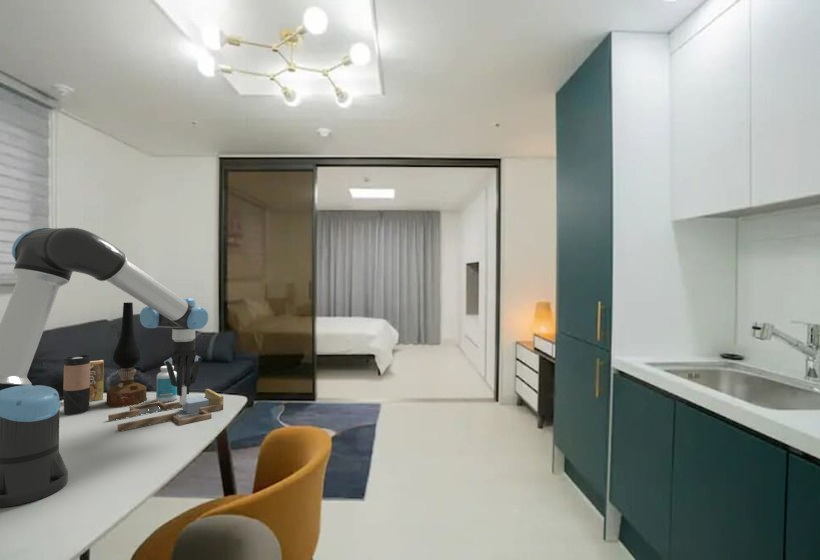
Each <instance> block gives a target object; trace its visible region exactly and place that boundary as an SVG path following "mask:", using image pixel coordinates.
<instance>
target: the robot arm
mask: <svg viewBox="0 0 820 560" xmlns="http://www.w3.org/2000/svg"><path fill="white" fill-rule="evenodd" d="M11 254H12V257H13V259H14V261H15V264H14V268H13V269H12V271H13V272H14V274H15V276H16V277H17V281H16V283H15V285H14V288H13V291H12V294H11V295H10V299H9V301H8V303H7V306H6V308H5V311H4V313H3V316H2V318H1V320H0V508H7V507H15V506H20V505H24V504H27V503H32V502H34V501H39V500H40V499H43V498H46V497H48V496H50V495H53V494H55V493H57V492H58V491H59V490H62V489H63V488H64V487H65V486H66V485H67V484H68V483H69V482H68V481H69V471H68V468H67V466H66V464H65V462H64V460H63V457H62V455H61V453H60V409H61V401H60V395H59V392H58V391H57V390H56V389H55V388H53V387H51V386H47V385H42V384H41V385H40V384H39V385H38V384H37V385H32V384H33V383H32V382H31V381H30V380H29V378H28V374H29V371H30V368H31V365H32V363H33V360H34V358H35V355H36V352H37V349H38V347H39V344H40V341H41V339H42V335H43V333H44V330H45V327H46V324H47V322H48V319H49V316H50V314H51V311H52V309H53V305H54V303H55V300H56V298H57V296H58V292H59V290H60V288H61V287H62V286H65V285H67V284H69V282H70V280H71V277H72V274H73V273H80V274H84V275H87V276H89V277H93V278H94V279H95V280H97V281H99V282H108V283H110V284H111V285H113V286H114V287H116V288H118V289H120V290H121V291H123V292H124V293H126V294H128V295H129V296H130V297H132V298H134V299H136V300H137V301H139V302H140V303H142V304H143V305H145V307H142V308H141V311H140V314H139V321H140V324H141V325H142V326H143V328H146V329H156V328H167V329H168V328H169V329H171V328H172V332H171V333H172V334H171V339H172V340H173V341H172V342H171V354H170V356H169V358H168V359H166V360H164V361H163V364H164V366H166V367H167V370H168V374H169V378H170V381H171V385H173V386H176V387H177V395H178V397H179V402H180V404H181V405H185V404H186V399H188V397H187V396H188V395H189V394H190V387H191V385H193V384H195V383H196V380H197V375H198V371H199V368H200V364H201V362H202V361H203V357H202V356H199V355H197V352H196V340H195V339H196V330H200V329H201V330H202V329H203V328H205V326H206V325H207V324H208V323H209V313H208V311H207V309H206V308H204V307H203V306H201V307H200V306H197V305H196V300H195V299H194V298H192V297H191V298H190V297H180V296H179V295H178V294H176V293H174V292H173V291H172V290H170V289H169V288H168V287H166V286H165V285H164V284H161V283H160V282H159V281H157V280H156V279H155V278H153V277H152V276H151V275H149V274H148V273H146V272H145V271H143V270H142V269H141V268H140V267H138V266H137V265H135V264H133V263H132V262H130V261H129V260H128V258H127V257H128V256H127V255H126V253H124V252H123V251H122V250H120V249H119V248H118V247H117V246H115V245H113V244H112V243H110V241H107V240H106V239H104V238H102V237H100V236H98V235H97V234H95V233H93V232H91V231H89V230H86V229H83V228H79V227H62V228H61V227H58V228H57V227H55V228H54V227H53V228H51V227H40V228H36V229H31V230H28V231H25V232H24V233H21V234H20V235H19V236H17V238H16V239H15V240H14V242H13V244H12V248H11ZM173 363H174V364H175V365H176V372H177V382H176V378H175V375H174V371H175V370H173V367H172V366H173ZM192 363H193V365H192V367H191V364H192ZM191 368H192V369H191ZM183 373H184V374H183ZM183 375H184V376H183ZM183 379H184V380H183ZM183 384H184V385H183Z"/></svg>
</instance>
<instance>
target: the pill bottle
mask: <svg viewBox="0 0 820 560" xmlns="http://www.w3.org/2000/svg"><path fill="white" fill-rule="evenodd" d="M172 367H173V371H174V375H175V378H176V382H177V371H176V370H174V369H175V366H174V365H172ZM155 385H156V389H155V390H156V391H155V393H156V396H155V400H156V402H158V401H161V402H163V403H168V401H169V402H172V401H176V400H177V399H178V397H179V396H178V395H177V387H176V386H173V385H171V381H170V378H169V374H168V370H167V367H166V365H162V366H160V372H158V373H157V374H156V384H155Z"/></svg>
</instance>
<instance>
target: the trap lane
mask: <svg viewBox="0 0 820 560" xmlns="http://www.w3.org/2000/svg"><path fill="white" fill-rule="evenodd" d="M203 397H204V398H206V399H208V400H209V406H207V407H202V408H199V412H196V413H191V414H186V415H182V416H178V414H177V413H176V412H172V413H168V414H162V415H159V416H154V417H153V416H152V417H148V418H144V419H139V420H133V421H128V422H123V423H118V424H117V432H118V431H119V432H122V430H124V431H127V429H129V430H132V429H131V428H133V429H136V428H135V427H138V428H141V427H140V426H143V427H146V426H145V425H147V426H150V425H149V424H152V425H155V424H154V423H157V424H160V423H159V422H162V423H164V422H163V421H166V422H169V421H168V420H171V421H173V420H174V421H175V424H177V423H178V424H177V425H179V426H182V424H183V425H187V424H191V423H195V422H196V423H197V422H200V421H205V420H209V419H212V413H213V412H217V411H222V410H224V395H222V394H220V393H217V392H215V391H214V390H212V389H210V388H205V389H204V396H203ZM210 404H211V405H210ZM158 406H159V407H160V409H159V407H158ZM177 407H180V408H182V405H181V404H180V401H175V402H170V403H165V402H161V401H159V402H158V401H154V402H150V403H149V402H148V403H143V404H136V405H131V406H129V410H126V411H120V412H118V413H116V412H114V413H110V414H108V416H107V417H108V418H107V421H108V420H109V421H108V422H113V421H112V420H114V421H117V420H116V419H119V420H122V419H121V418H124V419H127V418H126V417H129V418H132V417H131V416H134V417H137V416H136V415H139V416H142V415H141V414H145V415H147V414H146V413H150V414H152V413H151V412H155V413H157V412H156V411H160V412H163V411H162V410H165V411H168V410H167V409H170V410H173V409H172V408H175V409H178V408H177ZM148 409H149V411H148ZM174 421H173V422H174Z"/></svg>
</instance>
